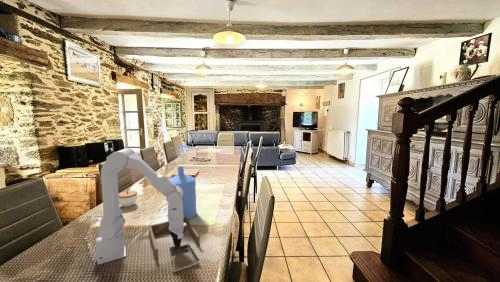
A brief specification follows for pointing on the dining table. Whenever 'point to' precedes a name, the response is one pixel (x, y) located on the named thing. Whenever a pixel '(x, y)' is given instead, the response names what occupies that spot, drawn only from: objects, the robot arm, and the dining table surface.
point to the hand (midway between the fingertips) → (177, 246)
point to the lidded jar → (127, 198)
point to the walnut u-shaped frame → (165, 227)
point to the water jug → (186, 192)
